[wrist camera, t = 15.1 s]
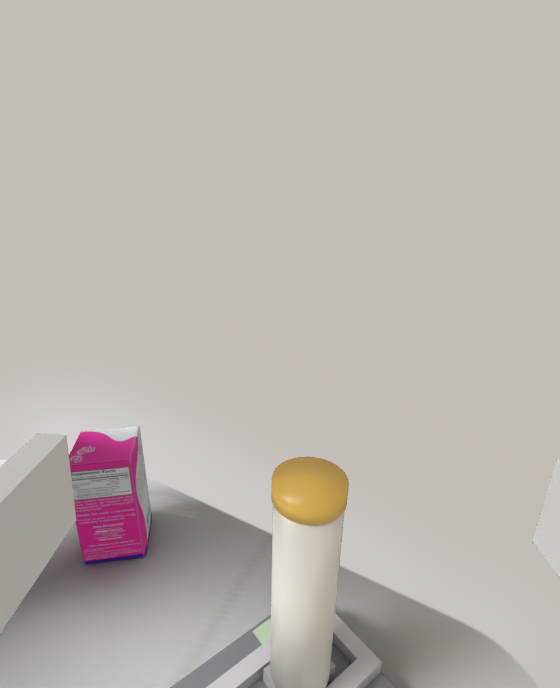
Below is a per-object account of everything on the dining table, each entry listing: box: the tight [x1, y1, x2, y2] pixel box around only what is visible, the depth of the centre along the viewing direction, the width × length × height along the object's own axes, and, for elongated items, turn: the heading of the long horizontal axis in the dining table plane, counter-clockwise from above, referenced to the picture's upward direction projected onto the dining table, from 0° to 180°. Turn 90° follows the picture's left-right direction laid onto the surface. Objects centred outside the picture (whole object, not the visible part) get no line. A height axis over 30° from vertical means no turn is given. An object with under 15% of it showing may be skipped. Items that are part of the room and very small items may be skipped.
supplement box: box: [69, 426, 152, 564], centre depth 40 cm, size 6×6×12 cm
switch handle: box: [263, 457, 349, 688], centre depth 26 cm, size 4×4×16 cm
